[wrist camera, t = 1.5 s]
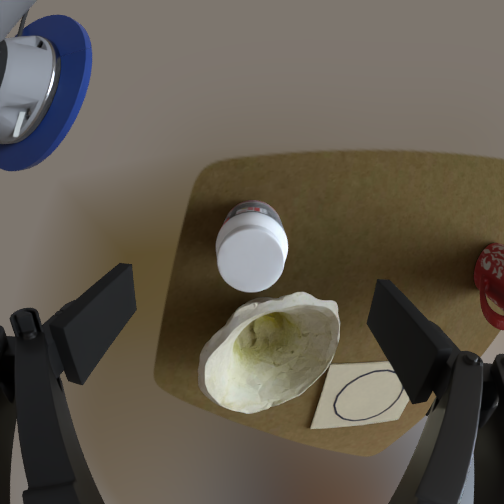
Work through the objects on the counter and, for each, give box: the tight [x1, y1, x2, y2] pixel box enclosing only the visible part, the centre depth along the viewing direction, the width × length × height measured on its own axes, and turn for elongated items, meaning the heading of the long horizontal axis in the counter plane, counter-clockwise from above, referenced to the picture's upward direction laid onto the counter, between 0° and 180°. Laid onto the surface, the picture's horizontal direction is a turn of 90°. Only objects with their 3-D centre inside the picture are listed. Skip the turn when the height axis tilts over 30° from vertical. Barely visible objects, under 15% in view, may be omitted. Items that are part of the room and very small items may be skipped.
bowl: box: [198, 292, 340, 414], centre depth 28 cm, size 15×14×10 cm
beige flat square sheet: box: [310, 361, 409, 429], centre depth 37 cm, size 14×16×1 cm
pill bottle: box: [216, 200, 288, 292], centre depth 25 cm, size 6×6×10 cm
